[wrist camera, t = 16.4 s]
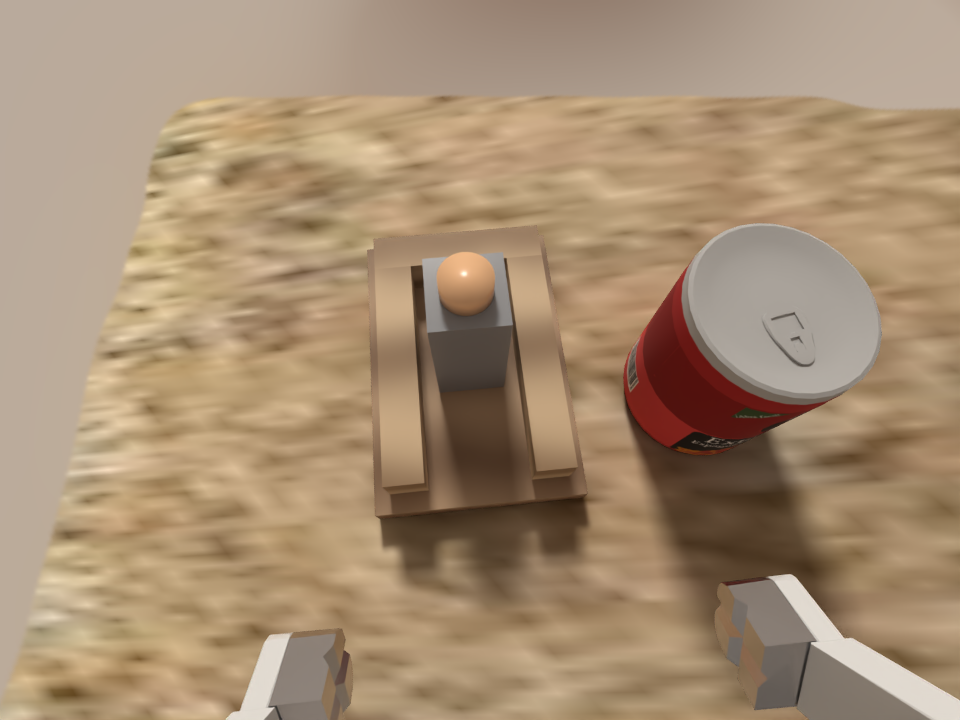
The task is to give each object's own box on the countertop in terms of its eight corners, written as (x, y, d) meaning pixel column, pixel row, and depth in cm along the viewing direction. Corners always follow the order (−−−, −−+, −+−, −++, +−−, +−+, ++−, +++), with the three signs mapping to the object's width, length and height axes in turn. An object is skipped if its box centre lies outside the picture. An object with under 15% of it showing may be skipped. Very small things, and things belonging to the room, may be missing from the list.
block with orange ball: (503, 386, 30) (514, 312, 21) (439, 392, 30) (424, 320, 21) (496, 328, 31) (504, 236, 23) (435, 334, 31) (419, 243, 22)
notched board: (582, 497, 29) (598, 486, 25) (380, 518, 29) (365, 510, 25) (540, 248, 35) (547, 210, 31) (371, 262, 35) (359, 225, 31)
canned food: (676, 484, 29) (782, 437, 19) (592, 368, 32) (645, 272, 22) (780, 415, 31) (929, 337, 21) (691, 309, 33) (786, 193, 23)
